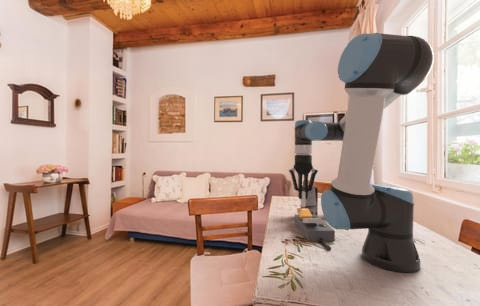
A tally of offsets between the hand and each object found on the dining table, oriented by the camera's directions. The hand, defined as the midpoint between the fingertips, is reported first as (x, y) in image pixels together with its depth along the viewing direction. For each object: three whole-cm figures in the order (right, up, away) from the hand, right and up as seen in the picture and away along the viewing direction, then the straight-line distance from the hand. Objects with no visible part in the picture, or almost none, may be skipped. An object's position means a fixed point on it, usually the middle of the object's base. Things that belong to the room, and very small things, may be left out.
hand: (303, 205), depth 105 cm
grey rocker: (0, -3, -13) cm, 13 cm away
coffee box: (+6, -9, +11) cm, 16 cm away
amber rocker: (0, -3, -3) cm, 4 cm away
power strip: (+2, -9, -12) cm, 15 cm away
